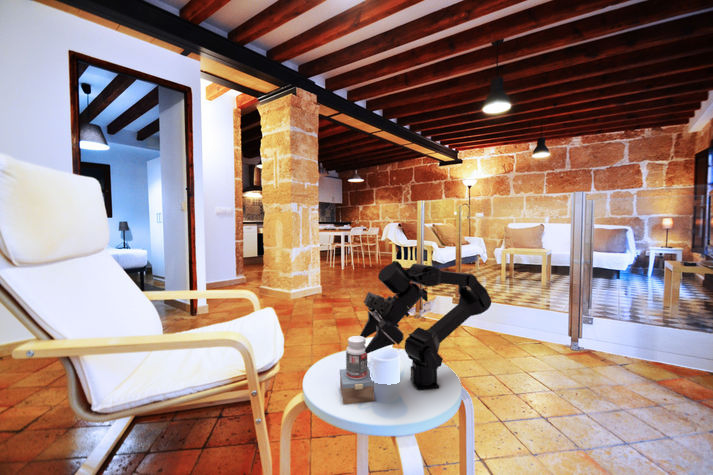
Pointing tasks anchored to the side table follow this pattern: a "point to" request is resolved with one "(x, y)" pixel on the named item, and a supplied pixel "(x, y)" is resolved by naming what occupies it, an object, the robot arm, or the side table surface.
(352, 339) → the pill bottle
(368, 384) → the box lid
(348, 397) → the walnut box
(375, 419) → the side table surface
